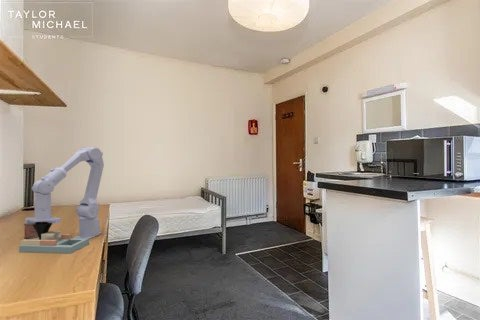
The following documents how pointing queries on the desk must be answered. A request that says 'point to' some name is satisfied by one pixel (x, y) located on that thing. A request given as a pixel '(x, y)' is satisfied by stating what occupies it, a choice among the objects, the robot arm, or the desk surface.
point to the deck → (54, 245)
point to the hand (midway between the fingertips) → (42, 239)
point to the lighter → (30, 231)
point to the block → (51, 235)
